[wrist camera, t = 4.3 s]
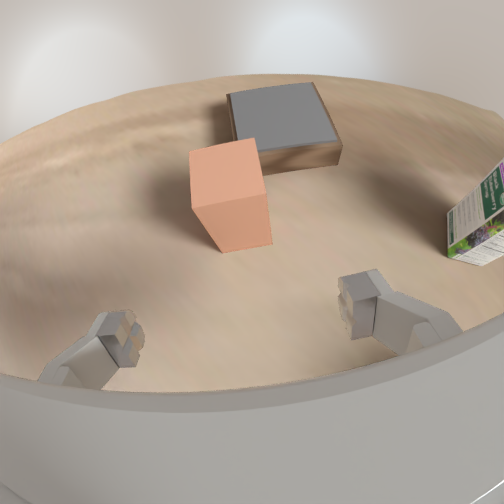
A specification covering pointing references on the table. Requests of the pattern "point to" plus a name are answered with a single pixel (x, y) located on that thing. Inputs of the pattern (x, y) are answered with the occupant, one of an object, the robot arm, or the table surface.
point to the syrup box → (479, 221)
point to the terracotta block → (230, 195)
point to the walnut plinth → (285, 127)
